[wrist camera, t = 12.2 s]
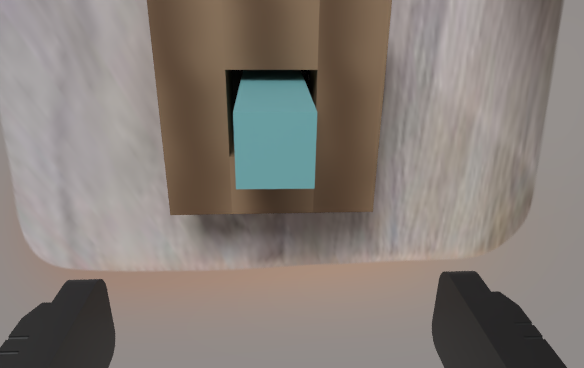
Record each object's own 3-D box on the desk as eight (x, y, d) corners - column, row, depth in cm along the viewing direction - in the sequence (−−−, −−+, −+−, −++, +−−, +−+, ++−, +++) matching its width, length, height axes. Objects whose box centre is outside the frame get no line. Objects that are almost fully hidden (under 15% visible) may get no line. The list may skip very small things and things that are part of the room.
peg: (299, 68, 33) (317, 112, 22) (298, 122, 34) (314, 188, 23) (243, 68, 33) (233, 112, 22) (245, 122, 34) (236, 189, 23)
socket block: (373, -7, 31) (392, -5, 26) (359, 182, 37) (372, 211, 32) (164, -9, 30) (146, -7, 26) (182, 185, 36) (170, 215, 31)
